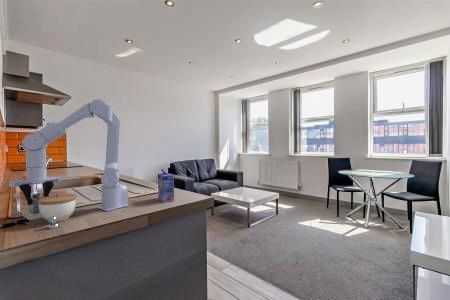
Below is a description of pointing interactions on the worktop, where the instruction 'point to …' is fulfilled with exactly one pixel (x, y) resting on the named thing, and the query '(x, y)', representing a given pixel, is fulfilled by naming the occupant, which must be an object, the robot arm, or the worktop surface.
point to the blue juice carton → (165, 186)
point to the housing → (35, 202)
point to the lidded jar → (57, 206)
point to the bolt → (53, 223)
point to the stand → (31, 215)
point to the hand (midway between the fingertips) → (37, 203)
